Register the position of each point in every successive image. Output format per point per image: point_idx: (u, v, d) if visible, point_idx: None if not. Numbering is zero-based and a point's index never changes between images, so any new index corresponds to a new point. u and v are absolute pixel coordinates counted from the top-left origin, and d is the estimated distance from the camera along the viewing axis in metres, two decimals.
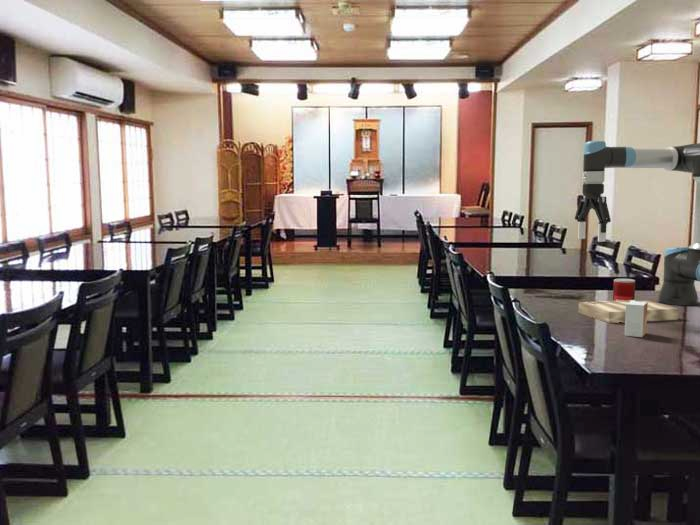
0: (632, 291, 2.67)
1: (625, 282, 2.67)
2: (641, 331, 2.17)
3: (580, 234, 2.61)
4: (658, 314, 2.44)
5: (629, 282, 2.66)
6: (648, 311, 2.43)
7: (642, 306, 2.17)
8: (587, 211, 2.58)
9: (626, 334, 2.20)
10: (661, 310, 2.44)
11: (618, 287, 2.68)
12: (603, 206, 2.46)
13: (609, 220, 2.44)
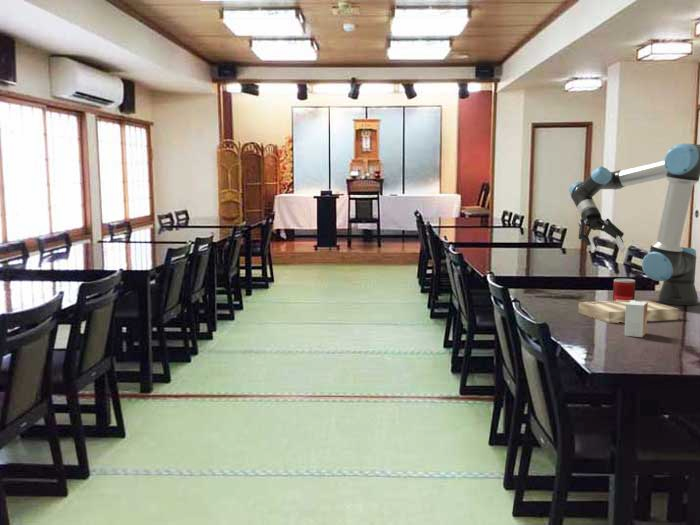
0: (632, 291, 2.67)
1: (625, 282, 2.67)
2: (641, 331, 2.17)
3: (619, 247, 2.83)
4: (658, 314, 2.44)
5: (629, 282, 2.66)
6: (648, 311, 2.43)
7: (642, 306, 2.17)
8: (607, 230, 2.87)
9: (626, 334, 2.20)
10: (661, 310, 2.44)
11: (618, 287, 2.68)
12: (580, 227, 2.86)
13: (580, 235, 2.82)
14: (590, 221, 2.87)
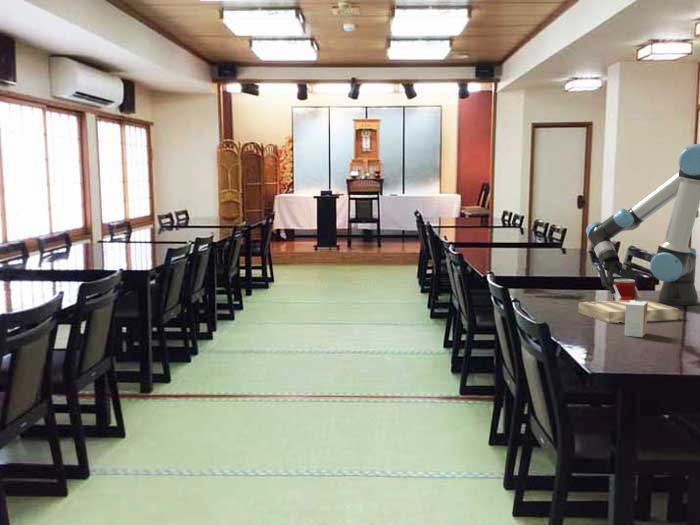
0: (632, 291, 2.67)
1: (625, 282, 2.67)
2: (641, 331, 2.17)
3: (635, 296, 2.70)
4: (658, 314, 2.44)
5: (629, 282, 2.66)
6: (648, 311, 2.43)
7: (642, 306, 2.17)
8: (623, 275, 2.75)
9: (626, 334, 2.20)
10: (661, 310, 2.44)
11: (618, 287, 2.68)
12: (600, 274, 2.75)
13: (604, 282, 2.70)
14: (608, 264, 2.76)
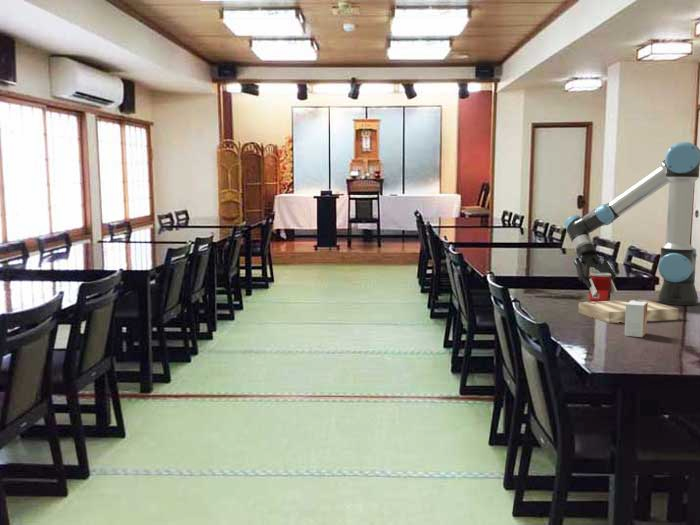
0: (608, 285, 2.67)
1: (601, 276, 2.66)
2: (641, 331, 2.17)
3: (611, 290, 2.70)
4: (658, 314, 2.44)
5: (605, 276, 2.66)
6: (648, 311, 2.43)
7: (642, 306, 2.17)
8: (600, 269, 2.74)
9: (626, 334, 2.20)
10: (661, 310, 2.44)
11: (594, 281, 2.68)
12: (577, 267, 2.74)
13: (581, 276, 2.70)
14: (585, 258, 2.76)
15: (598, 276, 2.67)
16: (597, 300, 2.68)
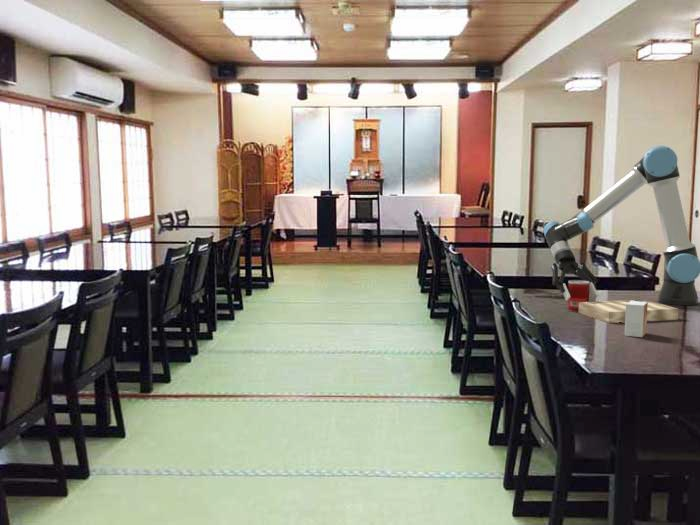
0: (586, 293, 2.63)
1: (579, 284, 2.62)
2: (641, 331, 2.17)
3: (592, 295, 2.67)
4: (658, 314, 2.44)
5: (583, 284, 2.62)
6: (648, 311, 2.43)
7: (642, 306, 2.17)
8: (581, 274, 2.71)
9: (626, 334, 2.20)
10: (661, 310, 2.44)
11: (572, 289, 2.64)
12: (553, 272, 2.71)
13: (554, 281, 2.66)
14: (563, 265, 2.72)
15: (576, 284, 2.63)
16: (575, 308, 2.64)
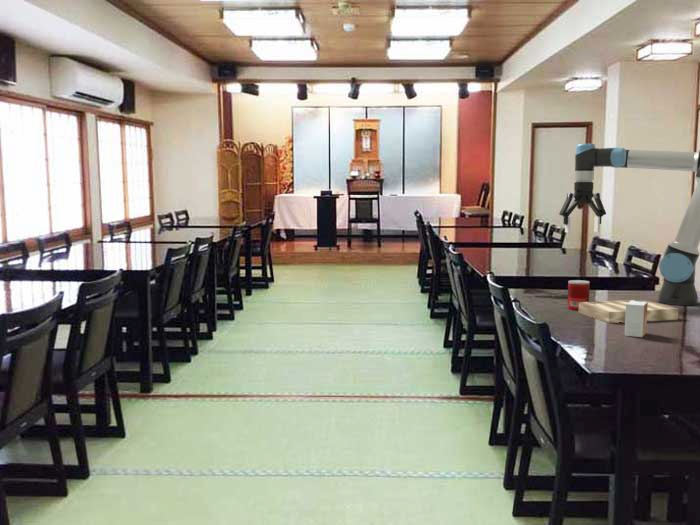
0: (586, 293, 2.63)
1: (579, 284, 2.62)
2: (641, 331, 2.17)
3: (594, 227, 2.87)
4: (658, 314, 2.44)
5: (583, 284, 2.62)
6: (648, 311, 2.43)
7: (642, 306, 2.17)
8: (592, 206, 2.84)
9: (626, 334, 2.20)
10: (661, 310, 2.44)
11: (572, 289, 2.64)
12: (566, 201, 2.82)
13: (561, 213, 2.81)
14: (579, 196, 2.81)
15: (576, 284, 2.63)
16: (575, 308, 2.64)
